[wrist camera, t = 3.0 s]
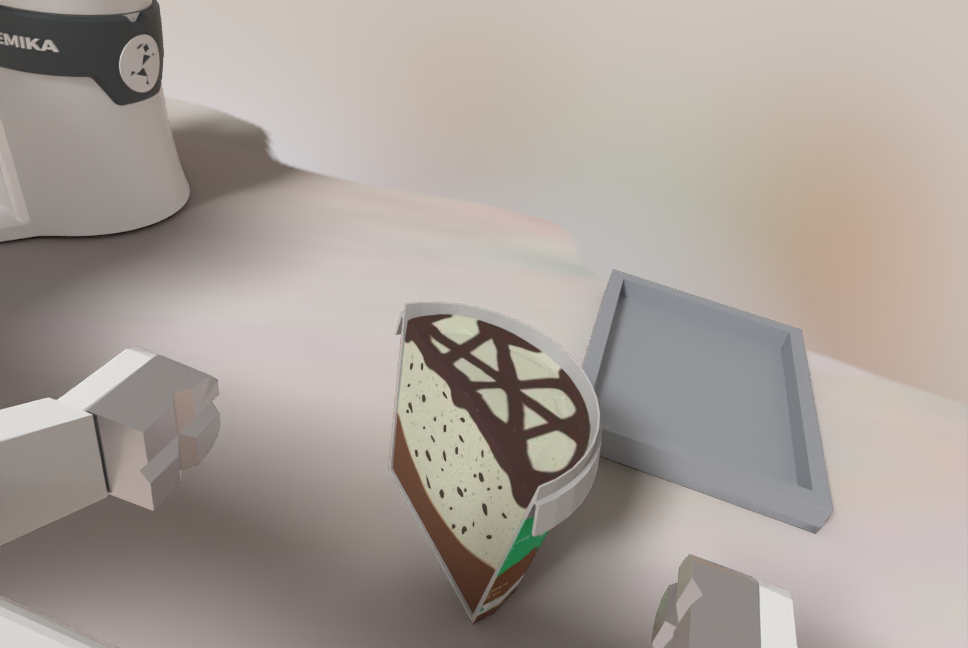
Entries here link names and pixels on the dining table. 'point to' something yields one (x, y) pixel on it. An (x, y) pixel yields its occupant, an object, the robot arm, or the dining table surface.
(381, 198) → the dining table surface
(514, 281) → the dining table surface
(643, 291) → the tray
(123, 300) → the dining table surface
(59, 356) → the dining table surface
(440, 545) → the food container
